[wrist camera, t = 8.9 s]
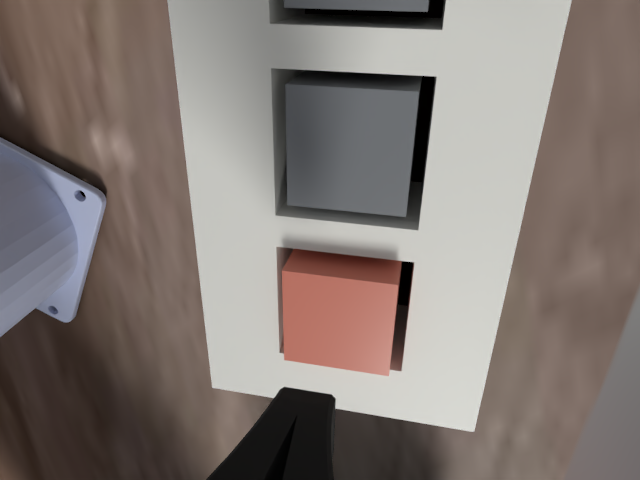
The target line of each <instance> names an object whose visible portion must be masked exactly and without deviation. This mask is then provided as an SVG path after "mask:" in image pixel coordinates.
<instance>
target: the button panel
mask: <svg viewBox="0 0 640 480" xmlns="http://www.w3.org/2000/svg"><path fill="white" fill-rule="evenodd" d="M167 1H168V9H169V18H170V27H171V35H172V44H173V53H174V61H175V70H176V78H177V87H178V96H179V104H180V113H181V122H182V130H183V139H184V148H185V156H186V165H187V173H188V182H189V191H190V199H191V208H192V217H193V225H194V234H195V242H196V251H197V260H198V268H199V277H200V286H201V294H202V303H203V312H204V320H205V329H206V337H207V346H208V355H209V363H210V372H211V381H212V388H217V389H223V390H229V391H235V392H241V393H247V394H253V395H259V396H265V397H270V398H275V396H276V395H277V393H278V392H279V390H280V389H281V388H283V387H289V388H295V389H301V390H307V391H314V392H320V393H326V394H332V395H333V396H334V397H335V398H336V404H335V409H341V410H347V411H353V412H359V413H365V414H371V415H376V416H382V417H388V418H394V419H400V420H406V421H412V422H418V423H424V424H430V425H435V426H441V427H447V428H453V429H459V430H465V431H471V432H474V430H475V426H476V421H477V417H478V412H479V408H480V404H481V399H482V395H483V390H484V386H485V381H486V377H487V373H488V368H489V364H490V359H491V355H492V351H493V346H494V342H495V337H496V333H497V328H498V324H499V320H500V315H501V311H502V306H503V302H504V297H505V293H506V289H507V284H508V280H509V275H510V271H511V267H512V262H513V258H514V253H515V249H516V244H517V240H518V236H519V231H520V227H521V222H522V218H523V213H524V209H525V205H526V200H527V196H528V191H529V187H530V182H531V178H532V174H533V169H534V165H535V160H536V156H537V152H538V147H539V143H540V138H541V134H542V129H543V125H544V121H545V116H546V112H547V107H548V103H549V98H550V94H551V90H552V85H553V81H554V76H555V72H556V67H557V63H558V59H559V54H560V50H561V45H562V41H563V37H564V32H565V28H566V23H567V19H568V14H569V10H570V6H571V1H572V0H444V1H443V9H442V18H423V17H391V16H358V15H326V14H305V8H284V0H167ZM305 70H317V71H336V72H356V73H376V74H395V75H415V76H434V86H433V94H432V103H431V111H430V120H429V128H428V137H427V145H426V154H425V162H424V171H423V179H422V182H414V181H411V184H410V191H409V198H408V206H407V213H406V217H400V216H390V215H380V214H370V213H360V212H350V211H340V210H330V209H320V208H310V207H300V206H290V205H287V152H286V94H285V84H286V83H288V82H289V81H291V80H292V79H293V78H295V77H296V76H298V75H299V74H301V73H302V72H303V71H305ZM293 249H302V250H311V251H319V252H328V253H337V254H345V255H354V256H363V257H372V258H380V259H389V260H398V261H406V262H413V264H412V273H411V281H410V290H409V298H408V306H405V305H398V307H397V315H396V323H395V331H394V339H393V347H392V355H391V363H390V372H389V376H384V375H377V374H371V373H364V372H358V371H352V370H345V369H339V368H332V367H326V366H319V365H313V364H306V363H300V362H294V361H287V360H284V335H283V294H282V270H283V268H284V266H285V264H286V262H287V260H288V258H289V256H290V255H291V253H292V251H293Z"/></svg>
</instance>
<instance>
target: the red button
mask: <svg viewBox="0 0 640 480" xmlns="http://www.w3.org/2000/svg"><path fill="white" fill-rule="evenodd" d="M401 269H402V261H398V260H389V259H380V258H372V257H363V256H354V255H345V254H337V253H328V252H319V251H311V250H302V249H293V251H292V253H291V255H290V256H289V258H288V260H287V262H286V264H285V266H284V268H283V270H282V294H283V335H284V360H287V361H294V362H300V363H306V364H313V365H319V366H326V367H332V368H339V369H345V370H352V371H358V372H364V373H371V374H377V375H384V376H389V372H390V363H391V355H392V347H393V339H394V331H395V323H396V315H397V307H398V297H399V288H400V278H401Z"/></svg>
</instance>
